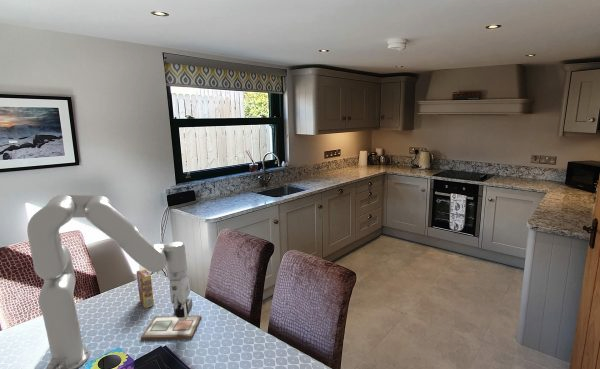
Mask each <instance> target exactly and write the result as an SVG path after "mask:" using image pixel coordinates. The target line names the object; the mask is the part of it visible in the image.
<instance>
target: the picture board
mask: <svg viewBox="0 0 600 369" xmlns="http://www.w3.org/2000/svg"><path fill="white" fill-rule="evenodd" d="M201 319H202V315H201V314H200V315H187V319H186V320H185V321H179V320H178V318H177V317H176V315H166V316H165V315H163V316H162V315H161V316H160V315H159V316H157V315H156V316H154V318H153V319H152V321H150V323H149V324H148V326H147V327H146V329H145V330H144V332H143V333H142V335H141V336H140V341H153V340H158V341H159V340H189V339H190V340H191V339H193V337H194V335H195V333H196V330H197V328H198V327H199V324H200V322H201Z"/></svg>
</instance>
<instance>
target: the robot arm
mask: <svg viewBox="0 0 600 369" xmlns="http://www.w3.org/2000/svg"><path fill="white" fill-rule="evenodd" d="M73 218H85V219H86V221H88V222H89V223H90V224H92V225H93V226H94V227H96V229H98V230H99V231H101V232H102V233H104V235H106V236H108V237H109V238H110V239H111V240H113V241H114V242H115V243H116V244H117V245H118V246H119V248H120V249H122V250H123V251H124V252H125V253H126V254H127V255H128V256H129V257H130V258H131V259H132V260H133V261H135V262H136V263H137V264H138V265H140V266H141V267H143V269H146V271H147V272H151V273H157V272H160V271H162V270H164V269H165V267H166V271H167V273H166V274H167V279H168V280H169V293H170V295H169V296H170V302H171V304H173V306H172V307H173V309H174V308H175V310H176V313H175V316H176V317H177V318H183V317H185V314H184V308H183V303H184V302H185V301H186V310H187V311H188V306H187V297H188V298H189V296H190V294H191V286H190V279H189V274H188V273H189V272H188V266H187V265H188V264H187V263H188V262H187V254H186V246H185V243H184V242H182V241H172V242H169V243H153V244H152V243H151V244H150V243H149V242H148V241H147V240H146V239H145V237H143V235H142V233H141V232H140V231H139V229H138V227H137V226H136V225H135V223H133V222H132V221H130V219H128V218H127V217H126V216H124V215H123V214H122V213H121V212H119V211H118V210H117V209H116V208H115V207H113V203H112V201H111V200H110V199H109V198H108V197H106V196H103V195H95V194H93V195H92V194H89V195H88V194H87V195H86V194H59V195H56V196H54V197H52V198H51V199H50V200H49V201H48V202H47V203H46V204H45V206H44V207H42V208H41V209H39V210H37V211H36V212H35V213H34V214H33V215H32V216H31V218H30V219H29V220H28V223H27V228H26V229H27V230H26V231H27V238H28V243H29V248H30V253H31V258H32V264H33V269H34V272H35V273H36V275H37V276H38V277H39V278H41V279H42V280H43V285H42V286H41V289H40V291H39V294H38V305H39V309H40V312H41V315H42V318H43V321H44V326H45V330H46V335H47V340H48V345H49V350H50V356H51V358H50V360H49V362H48V364H47V368H46V369H77V368H79V367H81V366H82V365H83V364H85V363H86V361H88V359H89V358H90V349H89V348H87V347H84V343H83V338H82V332H81V326H80V322H79V321H80V320H79V316H78V311H77V306H76V304H75V299H74V298H75V297H74V292H75V286H76V274H75V269H74V264H73V259H72V253H71V252H70V249H69V248H68V246H66V245H64V244H63V243H62V238H61V237H62V236H61V234H60V229H61V227H63V226H65V225H66V224H67V223H69V222H70V221H71V220H72V219H73ZM179 303H180V305H178V304H179Z"/></svg>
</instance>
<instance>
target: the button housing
mask: <svg viewBox="0 0 600 369" xmlns="http://www.w3.org/2000/svg"><path fill="white" fill-rule="evenodd" d="M188 299H189V301H188V303H187V306H188V311H187V314H189V312H190V310H191V309H192V307H193V298H189V297H188ZM173 314H176V310H175V308H173Z"/></svg>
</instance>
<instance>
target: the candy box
mask: <svg viewBox="0 0 600 369" xmlns="http://www.w3.org/2000/svg"><path fill="white" fill-rule="evenodd" d="M136 279H137V286H138V287H137V288H138V296H139V302H140V303H141V305H142V306H143V308H144V309H147V308H150V307H153V306H155V304H154V292H153V285H152V275H151V273H150V272H149V271H148V270H147V269H145V268H143V269H139V270H137V271H136Z"/></svg>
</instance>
